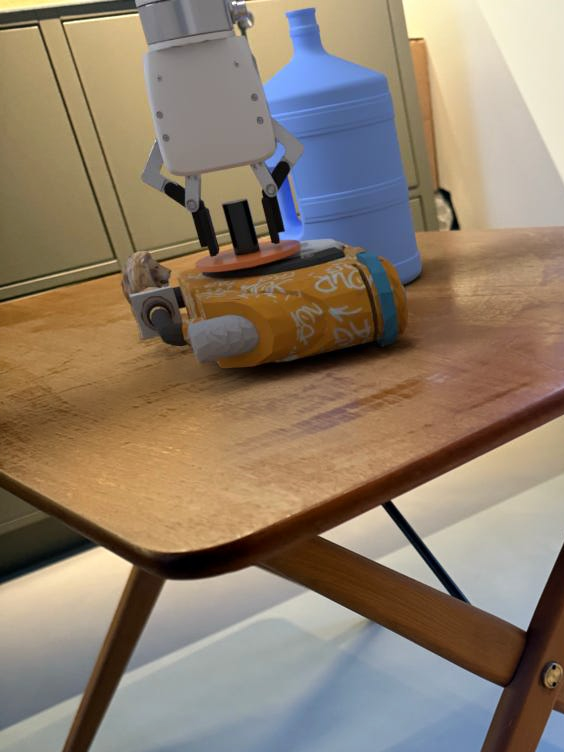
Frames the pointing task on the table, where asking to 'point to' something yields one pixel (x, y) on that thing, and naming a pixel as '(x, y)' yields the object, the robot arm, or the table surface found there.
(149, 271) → the lion figurine
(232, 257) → the lid
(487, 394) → the table surface
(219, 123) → the robot arm
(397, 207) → the water jug
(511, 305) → the table surface
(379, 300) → the device
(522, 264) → the table surface
